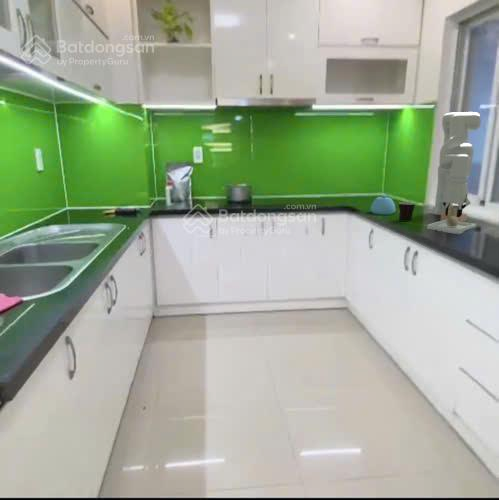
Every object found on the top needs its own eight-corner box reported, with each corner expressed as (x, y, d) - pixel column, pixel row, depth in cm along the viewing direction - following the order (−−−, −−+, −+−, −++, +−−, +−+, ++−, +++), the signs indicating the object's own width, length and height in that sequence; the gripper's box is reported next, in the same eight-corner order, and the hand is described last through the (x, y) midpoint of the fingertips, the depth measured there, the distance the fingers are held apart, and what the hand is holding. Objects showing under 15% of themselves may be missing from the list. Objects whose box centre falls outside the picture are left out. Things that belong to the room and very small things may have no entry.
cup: (440, 222, 216) (441, 213, 215) (448, 220, 222) (449, 211, 220) (457, 225, 209) (459, 216, 207) (465, 222, 214) (466, 213, 213)
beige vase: (444, 225, 200) (447, 205, 197) (449, 223, 203) (451, 204, 200) (454, 226, 196) (457, 207, 193) (459, 225, 199) (461, 206, 196)
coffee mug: (400, 218, 228) (401, 201, 225) (415, 220, 222) (417, 203, 220) (393, 221, 219) (394, 204, 216) (408, 223, 214) (410, 205, 211)
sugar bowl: (397, 212, 249) (398, 194, 246) (392, 216, 236) (394, 197, 233) (373, 210, 256) (374, 193, 253) (367, 214, 244) (369, 195, 241)
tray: (427, 229, 200) (427, 224, 199) (445, 224, 212) (445, 219, 211) (458, 234, 188) (458, 229, 187) (475, 228, 200) (476, 224, 199)
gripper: (437, 179, 197) (433, 214, 202) (472, 182, 184) (467, 219, 189) (444, 178, 202) (440, 213, 207) (479, 181, 189) (473, 217, 194)
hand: (453, 215), depth 198 cm, fingers closed on beige vase, 5 cm apart
